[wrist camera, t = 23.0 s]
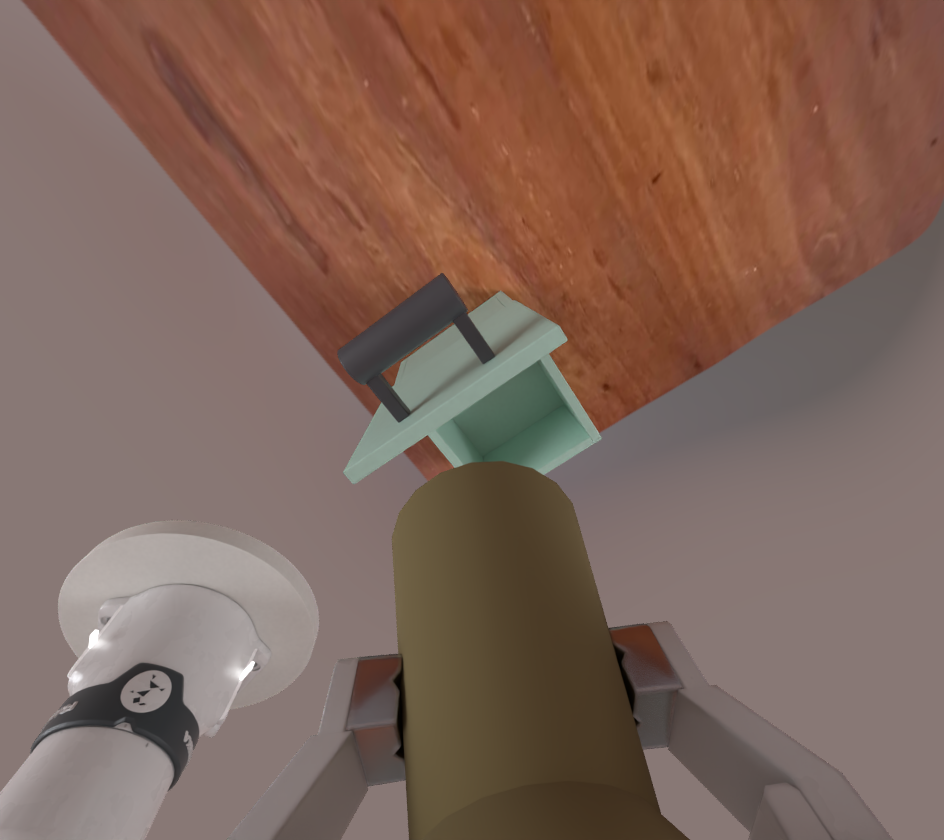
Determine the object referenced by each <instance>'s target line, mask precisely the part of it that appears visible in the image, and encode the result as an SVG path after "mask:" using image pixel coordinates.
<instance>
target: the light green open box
mask: <svg viewBox="0 0 944 840" xmlns="http://www.w3.org/2000/svg"><path fill="white" fill-rule="evenodd" d="M511 302H513V300H512V299H511V298H509V297H508V296H507V295H506V294H504V293H503V292H502V291H500V292H498V293H497V294H496V295H494V296H493V297H491V298H490V299H489V300H487V301H486V302H484V303H483V304H482V305H480V306H479V307H477V308H476V309H475V310H473V311H472V312H470V313H469V314H468V316H469V317H470V319H471V320H472V322H473V323H474V325H475V326H476V327H477V326H479V325H480V324H482V323H483V322H484V321H486V320H487V319H489V318H490V317H491V316H493V315H494V314H496V313H497V312H498V311H500V310H501V309H503V308H504V307H506V306H507V305H508V304H510V303H511ZM462 337H463V335H462V334H461V333H460V331H459V330H458V328H457V327H456V325H455V324H454V325H452V326H451V327H450V328H448V329H447V330H445V331H444V332H443V333H441V334H440V335H438V336H437V337H436V338H434V339H433V340H431V341H430V342H429V343H427V344H426V345H424V346H423V347H422V348H420V349H419V350H417V351H416V352H415V353H413V354H412V355H410V356H409V357H408V358H406V359H405V360H404V361H402V362H401V365H400V368H399V371H398V374H397V378H396V381H395V384H397V383H398V382H400V381H401V380H402V379H404V378H405V377H407V376H408V375H410V374H411V373H412V372H414V371H415V370H417V369H418V368H419V367H421V366H422V365H424V364H425V363H426V362H428V361H429V360H431V359H432V358H434V357H435V356H436V355H438V354H439V353H441V352H442V351H443V350H445V349H446V348H448V347H449V346H450V345H452V344H453V343H455V342H456V341H458V340H459V339H460V338H462ZM395 384H394V385H395ZM428 436H429V437H430V438H431V440H432V441H433V442H434V443H435V445H436V446H437V447H438V448H439V449H440V451H441V452H442V453H443V454H444V455H445V457H446V458H447V459H448V460H449V462H450V463H451V464H452V465H453V466H454V468H456V467H459V466H462V465H465V464H468V463H471V462H491V461H505V462H509V463H513V464H517V465H522V466H526V467H530V468H533V469H535V470H536V471H538V472H540V473H541V474H543V475H545V474H546V473H548V472H549V471H551V470H553V469H554V468H556V467H557V466H559V465H561V464H562V463H564V462H566V461H567V460H569V459H570V458H572V457H574V456H575V455H577V454H578V453H580V452H582V451H583V450H585V449H586V448H588V447H590V446H591V445H593V444H594V443H596V442H598V441H599V440H601V439H602V437H601V436H600V434H599V432H598V431H597V429H596V428H595V426H594V425H593V423H592V421H591V420H590V418H589V417H588V415H587V413H586V412H585V410H584V409H583V407H582V406H581V404H580V402H579V401H578V399H577V398H576V396H575V394H574V393H573V391H572V390H571V388H570V387H569V385H568V383H567V382H566V380H565V379H564V377H563V376H562V374H561V372H560V371H559V369H558V368H557V366H556V364H555V363H554V361H553V360H552V358H551V357H550V355H549V354H547V355H546V356H544V357H543V358H541V359H540V360H538V361H537V362H535V363H534V364H532V365H531V366H529V367H528V368H526V369H525V370H523V371H522V372H520V373H519V374H517V375H516V376H514V377H513V378H511V379H510V380H508V381H507V382H506V383H504V384H503V385H501V386H500V387H498V388H497V389H495V390H494V391H492V392H491V393H489V394H488V395H486V396H485V397H483V398H482V399H480V400H479V401H477V402H476V403H474V404H473V405H471V406H470V407H468V408H467V409H465V410H464V411H462V412H461V413H459V414H458V415H457V416H455V417H454V418H452V419H451V420H449V421H448V422H446V423H445V424H443V425H442V426H440V427H439V428H437V429H436V430H434V431H433V432H431V433H430V434H428Z"/></svg>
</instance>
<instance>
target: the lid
mask: <svg viewBox="0 0 944 840" xmlns="http://www.w3.org/2000/svg"><path fill="white" fill-rule="evenodd" d="M467 311H468V309H467V307H466V305H465V304H464V302H463V301H462V299H461V298H460V296H459V295H458V293H457V292H456V290H455V289H454V287H453V286H452V284H451V283H450V282H449V280H448V279H447V277H446V276H445V275H444V274H443V273H441V274H440V275H438V276H437V277H436V278H434V279H433V280H432V281H430V282H429V283H428V284H426V285H425V286H424V287H422V288H421V289H420V290H418V291H417V292H416V293H414V294H413V295H412V296H410V297H409V298H407V299H406V300H405V301H403V302H402V303H401V304H399V305H398V306H397V307H395V308H394V309H393V310H391V311H390V312H389V313H387V314H386V315H385V316H383V317H382V318H381V319H379V320H378V321H377V322H375V323H374V324H373V325H371V326H370V327H369V328H367V329H366V330H365V331H363V332H362V333H361V334H359V335H358V336H356V337H355V338H354V339H352V340H351V341H350V342H348V343H347V344H346V345H344V346H343V347H342V348H340V349H339V350H338V358H339V360H340V362H341V364H342V366H343V367H344V369H345V370H346V371H347V373H348V374H349V375H350V376H351V377H352V378H353V379H354V380H356V381H357V382H358V383H360V384H362V385H365V384H367V385H368V386H369V387H370V389H371V390H372V391H373V392H374V394H375V395H376V396H377V397H378V398H379V400H380V401H381V404H380V406H379V408H378V409H377V411H376V413H375V415H374V417H373V419H372V420H371V422H370V424H369V426H368V428H367V429H366V431H365V433H364V435H363V437H362V439H361V441H360V442H359V444H358V446H357V448H356V450H355V451H354V453H353V455H352V457H351V459H350V461H349V462H348V464H347V466H346V468H345V470H344V472H343V473H344V475H345V476H346V477H347V478H348V479H349V480H350V481H351V482H352V483H353V484H356V483H357V482H359V481H360V480H362V479H363V478H364V477H366V476H367V475H369V474H370V473H372V472H373V471H375V470H376V469H378V468H379V467H381V466H382V465H384V464H385V463H387V462H388V461H390V460H391V459H393V458H394V457H396V456H397V455H399V454H400V453H402V452H403V451H405V450H406V449H408V448H409V447H411V446H412V445H413V444H415V443H416V442H418V441H419V440H421V439H422V438H424V437H425V436H427V435H428V434H430V433H431V432H433V431H434V430H436V429H437V428H439V427H440V426H442V425H443V424H445V423H446V422H448V421H449V420H451V419H452V418H454V417H455V416H457V415H458V414H459V413H461V412H462V411H464V410H465V409H467V408H468V407H470V406H471V405H473V404H474V403H476V402H477V401H479V400H480V399H482V398H483V397H485V396H486V395H488V394H489V393H491V392H492V391H494V390H495V389H497V388H498V387H500V386H501V385H503V384H504V383H506V382H507V381H508V380H510V379H511V378H513V377H514V376H516V375H517V374H519V373H520V372H522V371H523V370H525V369H526V368H528V367H529V366H531V365H532V364H534V363H535V362H537V361H538V360H540V359H541V358H543V357H544V356H546V355H547V354H549V353H550V352H552V351H553V350H554V349H556V348H557V347H559V346H560V345H562V344H563V343H565V342H566V341H567V338H566V336H565V334H564V333H563V331H562V329H561V328H560V326H559V325H557V324H555V323H554V322H552V321H550V320H549V319H547V318H545V317H543V316H542V315H540V314H538V313H536V312H535V311H533V310H531V309H530V308H528V307H526V306H524V305H523V304H521V303H519V302H518V301H516V300H514V301H513V302H511V303H510V304H508V305H507V306H506V307H504V308H503V309H501V310H500V311H498V312H497V313H496V314H494V315H493V316H491V317H490V318H489V319H487V320H486V321H484V322H483V323H482V324H480V325H479V326H477V327H476V326H475V325H474V323H473V322H472V320H471V319H470V317H469V316H468V314H467V313H466V312H467ZM452 322H453V323H454V324H455V325H456V327H457V328H458V330H459V331H460V333H461V334H462V335H463V337H462V338H460V339H459V340H458V341H456V342H455V343H453V344H452V345H450V346H449V347H448V348H446V349H445V350H443V351H442V352H441V353H439V354H438V355H436V356H435V357H434V358H432V359H431V360H429V361H428V362H426V363H425V364H424V365H422V366H421V367H419V368H418V369H417V370H415V371H414V372H412V373H411V374H410V375H408V376H407V377H405V378H404V379H402V380H401V381H400V382H398V383H397V384H395V385H394V386H393V387H391V386H390V384H389V383H388V382H387V381H386V379H385V378H384V377H383V376H382V374H381V373H382V372H384V371H385V370H387V369H388V368H389V367H391V366H392V365H393V364H395V363H396V362H398V361H399V360H400V359H402V358H403V357H405V356H406V355H407V354H409V353H410V352H412V351H413V350H414V349H416V348H417V347H419V346H420V345H421V344H423V343H424V342H425V341H427V340H428V339H430V338H431V337H432V336H434V335H435V334H437V333H438V332H439V331H441V330H442V329H444V328H445V327H446V326H448V325H449V324H451V323H452Z"/></svg>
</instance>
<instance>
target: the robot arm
mask: <svg viewBox="0 0 944 840" xmlns="http://www.w3.org/2000/svg"><path fill="white" fill-rule="evenodd" d="M608 630H609V633H610V637H611V640H612V644H613V647H614V651H615V654H616V658H617V661H618V664H619V668H620V671H621V675H622V679H623V682H624V686H625V689H626V693H627V696H628V700H629V703H630V706H631V710H632V713H633V717H634V720H635V724H636V728H637V731H638V735H639V738H640V742H641V745H642V749H643V750H644V749H654V748H664V747H668V750H669V751H670V752H671V753H672V754H673V755H674V756H675V757H676V758H677V759H678V760H679V761H680V762H681V763H682V764H683V765H684V766H685V767H686V768H687V769H688V770H689V771H690V772H691V773H692V774H693V775H694V776H695V777H696V778H697V779H698V780H699V781H700V782H701V783H702V784H703V785H704V786H705V787H706V788H707V789H708V790H709V791H710V792H711V793H712V794H713V795H714V796H715V797H716V798H717V799H718V800H719V801H720V802H721V803H722V804H723V806H725V808H727V809H728V811H729V812H731V814H732V815H733V816H734V817H735V818H736V819H737V820H738V821H739V822H740V823H741V824H742V825H743V826H744V827H745V828H746V829H747V830H748V831H749V832H750V836H749V839H748V840H893V839H892V838H891V836H890V835H889V833H888V832H887V831H886V830H885V828H884V827H883V826H882V824H881V823H880V822H879V821H878V819H877V818H876V817H875V815H874V814H873V813H872V811H871V810H870V809H869V807H868V806H867V805H866V803H865V802H864V801H863V800H862V798H861V797H860V796H859V794H858V793H857V792H856V790H855V789H854V788H853V786H852V785H851V784H850V782H849V781H848V780H847V779H846V777H845V776H844V775H843V773H841V772H840V771H839V770H837V769H836V768H834V767H833V766H831V765H830V764H829V763H827V762H826V761H824V760H823V759H821V758H820V757H819V756H817V755H816V754H814V753H813V752H811V751H810V750H809V749H807V748H806V747H804V746H802V745H801V744H800V743H798V742H797V741H796V740H794V739H793V738H791V737H790V736H788V735H787V734H786V733H784V732H782V731H781V730H780V729H778V728H777V727H775V726H774V725H773V724H771V723H770V722H768V721H767V720H766V719H764V718H763V717H761V716H760V715H758V714H757V713H755V712H754V711H753V710H751V709H750V708H748V707H747V706H745V705H744V704H743V703H741V702H740V701H738V700H737V699H735V698H734V697H733V696H731V695H730V694H728V693H727V692H725V691H724V690H722V689H721V688H720V687H718V686H717V685H711V686H709V684H708V682H707V681H706V679H705V678H704V676H703V674H702V673H701V671H700V670H699V668H698V666H697V665H696V663H695V662H694V660H693V658H692V657H691V655H690V654H689V652H688V650H687V649H686V647H685V646H684V644H683V642H682V641H681V639H680V638H679V636H678V634H677V633H676V631H675V630H674V628H673V626H672V625H671V624H670V623H669V622H667V621H664V622H655V623H647V624H644V623H643V624H636V625H628V626H620V627H613V628H608ZM271 656H272V653H271V651H270V649H269V648H268V647H267V646H266V645H265V644H264V643H263V642H262V641H261V640H260V639H259V637H258V635H257V632H256V629H255V627H254V624H253V622H252V620H251V618H250V617H249V615H248V614H247V613H246V612H245V610H244V609H243V608H242V607H241V606H239V605H238V604H237V603H236V602H234V601H233V600H231V599H230V598H228V597H226V596H225V595H223V594H221V593H218V592H216V591H213V590H211V589H208V588H204V587H200V586H195V585H187V584H170V585H163V586H158V587H154V588H151V589H149V590H146V591H144V592H142V593H140V594H138V595H135V596H132V597H120V598H112V599H109V600H107V601H105V602H104V604H103V605H102V606H101V608H100V609H99V613H98V630H95V631H94V632H93V633H92V634H91V635H90V640H89V646H88V648H87V649H86V650H85V651H84V653H83V654H82V655H81V656H80V658H79V659H78V660H77V662H76V663H75V664H74V665H73V667H72V668H71V670H70V671H69V673H68V675H67V677H68V678H69V682H68V691H69V695H70V697H69V698H68V699H67V700H66V701H65V702H64V704H63V705H62V706H61V707H60V709H59V710H58V711H57V712H56V713H55V714H53V716H52V717H51V718H50V719H49V721H48V722H47V723H46V724H45V726H44V727H43V729H42V732H41V733H40V734H39V736H38V737H37V738H36V740H35V741H34V743H33V745H32V747H31V752H30V756H29V757H28V758H27V760H26V761H25V762H24V763H23V765H22V766H21V767H20V769H19V770H18V771H17V772H16V773H15V775H14V776H13V777H12V778H11V780H10V781H9V782H8V783H7V785H6V786H5V787H4V789H3V790H2V791H1V792H0V840H145V838H146V836H147V834H148V831H149V829H150V827H151V825H152V823H153V821H154V819H155V816H156V814H157V812H158V810H159V808H160V806H161V804H162V802H163V800H164V797H165V795H166V793H167V792H168V791H169V790H170V789H171V788H172V787H173V786H174V785H175V784H176V783H177V781H178V779H179V777H180V776H181V774H182V772H183V771H184V770H185V768H186V767H187V764H188V763H189V761H190V759H191V756H192V753H193V750H194V748H195V746H196V744H197V742H198V739H199V738H200V737H201V736H202V735H204V736H207V737H209V738H211V737H214V735H215V734H216V733H217V731H218V729H219V728H220V726H221V725H222V723H223V722H224V721H225V719H226V717H227V715H228V711H229V708H230V706H231V704H232V702H233V700H234V698H235V697H236V696H237V694H238V693H239V692H240V691H241V690H242V689H243V688H244V687H245V686H246V685H247V684H248V683H249V682H250V681H251V680H252V679H253V678H254V677H255V676H256V675H257V674H258V673H259V672H260V671H261V670H262V669H263V668H264V667H265V666H266V665H267V663H268V662H269V660H270V658H271ZM401 678H402V653H401V654H389V655H378V656H368V657H357V658H348V659H339V660H338V661H337V663H336V665H335V667H334V670H333V674H332V678H331V683H330V687H329V691H328V695H327V700H326V703H325V707H324V711H323V716H322V720H321V724H320V728H319V732H318V735H313V736H310V738H309V739H308V740H307V741H306V743H305V744H304V745H303V746H302V747H301V749H300V750H299V751H298V752H297V754H296V755H295V756H294V757H293V758H292V760H291V761H290V762H289V763H288V765H287V766H286V767H285V768H284V770H283V771H282V772H281V773H280V774H279V776H278V777H277V778H276V779H275V781H274V782H273V783H272V784H271V786H270V787H269V788H268V789H267V791H266V792H265V793H264V794H263V795H262V797H261V798H260V799H259V800H258V802H257V803H256V804H255V805H254V806H253V808H252V809H251V810H250V811H249V813H248V814H247V815H246V816H245V818H244V819H243V820H242V821H241V822H240V824H239V825H238V826H237V827H236V829H235V830H234V831H233V832H232V834H231V835H230V836H229V837H228V838H227V840H341V838H342V836H343V834H344V833H345V831H346V829H347V827H348V825H349V823H350V822H351V820H352V818H353V816H354V814H355V813H356V811H357V809H358V807H359V805H360V803H361V802H362V800H363V798H364V796H365V794H366V793H367V791H368V786H373V785H380V784H386V783H392V782H398V781H404V780H406V776H405V758H404V741H403V724H402V706H401V703H402V701H401V689H400V683H401Z"/></svg>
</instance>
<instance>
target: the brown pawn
mask: <svg viewBox="0 0 944 840" xmlns="http://www.w3.org/2000/svg"><path fill="white" fill-rule="evenodd" d="M392 550H393V567H394V584H395V602H396V619H397V637H398V654H401V653H402V678H401V683H400V689H401V701H402V703H401V706H402V724H403V741H404V758H405V776H406V791H407V811H408V828H409V840H689V839H688V838H687V837H686V836H685V835H684V834H683V833H682V832H681V831H679V830H678V829H677V828H676V827H675V826H674V825H673V824H672V823H670V822H669V821H668V820H667V819H666V818H665V817H664V816H663V815H661V812H660V808H659V805H658V802H657V798H656V794H655V791H654V788H653V784H652V781H651V777H650V773H649V770H648V766H647V763H646V759H645V756H644V752H643V749H642V745H641V742H640V738H639V735H638V731H637V728H636V724H635V720H634V717H633V713H632V710H631V706H630V703H629V700H628V696H627V693H626V689H625V686H624V682H623V679H622V675H621V671H620V668H619V664H618V661H617V658H616V654H615V651H614V647H613V644H612V640H611V637H610V633H609V630H608V626H607V622H606V619H605V615H604V612H603V608H602V605H601V601H600V597H599V594H598V591H597V587H596V583H595V580H594V576H593V573H592V570H591V566H590V562H589V559H588V555H587V552H586V548H585V545H584V541H583V538H582V534H581V531H580V527H579V524H578V520H577V517H576V513H575V510H574V507H573V503H572V502H571V501H570V499H569V498H568V497H567V496H566V494H565V493H564V492H563V491H562V489H561V488H560V487H559V485H558V484H557V483H556V482H554V481H553V480H551V479H549V478H547V477H546V476H544V475H543V474H541V473H540V472H538V471H536V470H535V469H533V468H530V467H526V466H522V465H517V464H513V463H509V462H505V461H491V462H471V463H468V464H465V465H462V466H459V467H456V468H453V469H450V470H447V471H444V472H441V473H440V474H438V475H437V476H435V477H434V478H433V479H431V480H430V481H428V482H427V483H425V484H424V485H423V486H421V487H420V488H419V489H417V490H416V491H415V492H414V494H413V495H412V496H411V498H410V499H409V500H408V502H407V503H406V504H405V506H404V507H403V508H402V510H401V511H400V512H399V515H398V518H397V522H396V525H395V529H394V532H393V535H392Z"/></svg>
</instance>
